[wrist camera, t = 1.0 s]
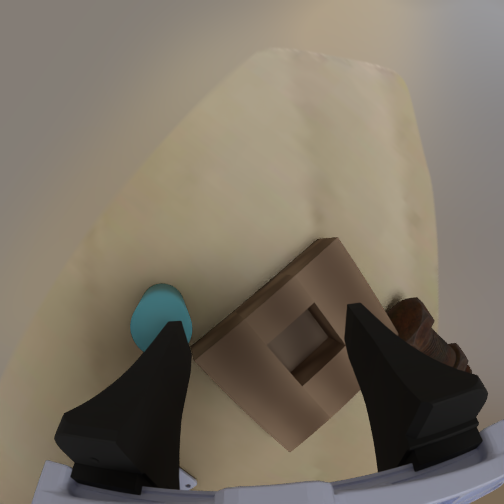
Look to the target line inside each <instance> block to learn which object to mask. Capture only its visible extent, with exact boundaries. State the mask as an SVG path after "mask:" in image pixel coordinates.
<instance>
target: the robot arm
mask: <svg viewBox="0 0 504 504" xmlns="http://www.w3.org/2000/svg"><path fill="white" fill-rule="evenodd" d="M344 341H345V345H346V349H347V353H348V357H349V360H350V363H351V366H352V368H353V371H354V374H355V376H356V379H357V381H358V384H359V387H360V389H361V392H362V395H363V397H364V401H365V404H366V408H367V412H368V416H369V421H370V426H371V431H372V436H373V441H374V447H375V453H376V460H377V468H378V473H374V474H370V475H365V476H361V477H356V478H351V479H346V480H341V481H335V482H329V483H328V482H324V481H304V482H295V483H286V484H275V485H261V486H238V487H229V488H224V489H222V490H219V491H191V490H190V489H191V488H193V487H195V486H196V485H197V480H196V479H195V478H193V477H192V476H190V475H189V474H188V473H186V472H185V471H184V470H182V469H181V468H180V467H179V451H180V431H181V419H182V413H183V408H184V403H185V398H186V393H187V388H188V383H189V378H190V371H191V356H192V353H191V350H190V347H189V344H188V341H187V337H186V334H185V331H184V327H183V324H182V321H168V322H167V324H166V325H165V326H164V327H163V329H162V330H161V331H160V333H159V334H158V335H157V336H156V338H155V339H154V340H153V342H152V343H151V344H150V345H149V347H148V348H147V349H146V350H145V352H144V353H143V354H142V355H141V356H140V357H139V358H138V360H137V361H136V362H135V363H134V364H133V365H132V366H131V367H130V368H129V369H128V370H127V371H126V372H125V373H124V374H123V375H122V376H121V377H120V378H119V379H117V380H116V381H115V382H114V383H113V384H111V385H110V386H109V387H107V388H106V389H105V390H104V391H102V392H101V393H99V394H98V395H96V396H95V397H93V398H92V399H90V400H89V401H87V402H85V403H84V404H82V405H80V406H78V407H76V408H74V409H72V410H70V411H68V412H66V413H64V415H63V417H62V419H61V422H60V424H59V427H58V429H57V432H56V434H55V438H54V439H55V441H56V443H57V445H58V446H59V447H60V449H61V450H62V451H63V452H64V453H65V454H66V455H67V456H68V457H69V458H70V459H72V460H73V461H74V462H75V463H74V466H73V468H71V467H69V466H67V465H64V464H61V463H57V462H53V461H50V460H46V462H45V464H44V467H43V470H42V473H41V476H40V479H39V482H38V485H37V488H36V491H35V494H34V497H33V500H32V504H469V503H471V502H473V501H475V500H477V499H478V498H480V497H482V496H484V495H486V494H488V493H490V492H492V491H493V490H495V489H497V488H499V487H500V486H501V485H502V484H503V483H504V419H503V420H501V421H499V422H497V423H494V424H492V425H491V426H488V427H486V428H484V429H483V430H482V431H480V432H479V431H478V429H477V426H478V425H479V422H478V420H477V418H476V416H477V415H478V413H479V412H480V410H481V409H482V407H483V405H484V404H485V402H486V400H487V396H488V392H487V390H486V388H485V387H484V385H483V383H482V382H481V380H480V378H479V377H478V376H477V375H475V374H471V373H468V372H465V371H462V370H458V369H456V368H453V367H451V366H448V365H446V364H444V363H441V362H439V361H437V360H435V359H433V358H431V357H429V356H427V355H426V354H424V353H422V352H420V351H419V350H417V349H416V348H414V347H413V346H411V345H410V344H408V343H407V342H405V341H404V340H403V339H401V338H400V337H399V336H397V335H396V334H395V333H394V332H392V331H391V330H390V329H389V328H388V327H387V326H385V325H384V324H383V323H382V322H381V321H380V320H379V319H378V318H377V317H375V316H374V315H373V314H372V313H371V312H370V311H369V310H368V309H367V308H366V307H365V306H364V305H363V304H362V303H353V304H347V312H346V324H345V335H344ZM187 484H189V485H187Z"/></svg>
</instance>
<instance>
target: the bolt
mask: <svg viewBox="0 0 504 504" xmlns="http://www.w3.org/2000/svg"><path fill="white" fill-rule="evenodd" d="M387 315H388V317H389V318H390V320H391V322H392V324H393V325H394V327H395V329H396V330H397V332H398V336H399V337H400V338H401V339H403V340H404V341H405V342H407V343H408V344H410V345H411V346H413V347H414V348H416V349H417V350H419V351H420V352H422V353H424V354H426V355H427V356H429V357H431V358H433V359H435V360H437V361H439V362H441V363H444V364H446V365H448V366H451V367H453V368H456V369H458V370H462V371H465V372H468V373H471V374H472V370H471V369H470V367H469V366H468V365H467V364H468V360H467V358H466V356H465V354H464V353H463V351H462V350H461V348H460V347H459V346H458V345H457V344H456V343H451V344H447V343H446V342H445V341H444V340H443V339H442V338H441V337H440V336H439V335H438V334H437V333H436V332H435V331H434V330H433V329H432V328H431V327H432V325H433V323H434V319H433V318H432V316H431V314H430V313H429V311H428V310H427V308H426V307H425V305H424V304H423V303H422V302H421V301H420V300H419V299H418V298H417V297H416V298H409V299H405V300H402V301H400V302H398V303H397V304H396V305H395V306H394V307H392V308H391V309H390V310H389V311H388V312H387Z"/></svg>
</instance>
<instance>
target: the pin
mask: <svg viewBox="0 0 504 504" xmlns="http://www.w3.org/2000/svg"><path fill="white" fill-rule="evenodd" d="M168 321H182V324H183V327H184V331H185V334H186V337H187V341H188V343H189V341H190V339H191V335H192V322H191V319H190V316H189V313H188V311H187V308H186V305H185V303H184V300H183V297H182V295H181V293H180V292H179V291H178V290H177V289H176V288H175V287H173V286H171V285H169V284H156V285H153V286H151V287H150V288H149V289H148V290H147V291H146V292H145V293H144V295H143V297H142V299H141V300H140V302H139V304H138V306H137V308H136V310H135V311H134V313H133V316H132V319H131V324H130V329H131V334H132V338H133V340H134V342H135V343H136V345H137V346H138V347H139V348H140V349H141V350H142V351H143V352H145V350H146V349H147V348H148V347H149V345H150V344H151V343H152V342H153V340H154V339H155V338H156V336H157V335H158V334H159V333H160V331H161V330H162V329H163V327H164V326H165V325H166V324H167V322H168Z"/></svg>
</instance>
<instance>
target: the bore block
mask: <svg viewBox="0 0 504 504" xmlns="http://www.w3.org/2000/svg"><path fill="white" fill-rule="evenodd" d="M353 303H362V304H363V305H364V306H365V307H366V308H367V309H368V310H369V311H370V312H371V313H372V314H373V315H374V316H375V317H377V318H378V319H379V320H380V321H381V322H382V323H383V324H384V325H385V326H387V327H388V328H389V329H390V330H391V331H392V332H394V333H395V334H396V335H397V336H398V332H397V330H396V329H395V327H394V325H393V324H392V322H391V320H390V318H389V317H388V315H387V313H386V312H385V310H384V309H383V307H382V305H381V304H380V302H379V300H378V299H377V297H376V295H375V294H374V292H373V291H372V289H371V287H370V286H369V284H368V283H367V281H366V280H365V278H364V276H363V275H362V273H361V272H360V270H359V269H358V267H357V265H356V264H355V262H354V261H353V259H352V258H351V256H350V255H349V253H348V252H347V250H346V249H345V247H344V246H343V244H342V243H341V241H340V240H339V238H338V237H334V238H323V239H317V240H316V241H315V242H314V243H313V244H311V245H310V246H309V247H308V248H307V249H306V250H305V251H303V252H302V253H301V254H300V255H299V256H298V257H297V258H295V259H294V260H293V261H292V262H291V263H290V264H289V265H287V266H286V267H285V268H284V269H283V270H282V271H280V272H279V273H278V274H277V275H276V276H275V277H273V278H272V279H271V280H270V281H269V282H268V283H266V284H265V285H264V286H263V287H262V288H261V289H259V290H258V291H257V292H256V293H255V294H254V295H252V296H251V297H250V298H249V299H248V300H246V301H245V302H244V303H243V304H242V305H241V306H239V307H238V308H237V309H236V310H235V311H233V312H232V313H231V314H230V315H229V316H227V317H226V318H225V319H224V320H223V321H221V322H220V323H219V324H218V325H217V326H215V327H214V328H213V329H212V330H211V331H209V332H208V333H207V334H206V335H204V336H203V337H202V338H201V339H200V340H198V341H197V342H196V343H195V344H193V345H192V346H191V350H192V354H193V357H194V361H195V362H196V363H197V364H198V365H199V366H200V367H201V368H202V369H203V370H204V371H205V372H206V373H207V374H208V375H209V376H210V377H211V378H212V380H213V381H214V382H215V383H216V384H217V385H218V386H219V387H220V388H221V389H222V390H223V391H224V392H225V393H226V394H227V395H228V396H229V397H230V398H231V399H232V400H233V401H234V402H235V403H236V404H237V405H238V406H240V407H241V408H242V409H243V410H244V411H245V412H246V413H247V414H248V415H249V416H250V417H251V418H252V419H253V420H254V421H255V422H256V423H257V424H259V425H260V426H261V427H262V428H263V429H264V430H265V431H266V432H267V433H268V434H270V435H271V436H272V437H273V438H274V439H275V440H276V441H277V442H279V443H280V444H281V445H282V446H283V447H284V448H285V449H287V450H288V451H289V452H291V451H292V450H294V449H295V448H296V447H297V446H299V445H300V444H301V443H302V442H303V441H305V440H306V439H307V438H308V437H309V436H311V435H312V434H313V433H314V432H315V431H316V430H318V429H319V428H320V427H321V426H322V425H323V424H324V423H326V422H327V421H328V420H329V419H330V418H331V417H332V416H333V415H334V414H335V413H337V412H338V411H339V410H340V409H341V408H342V407H343V406H344V405H345V404H346V403H347V402H348V401H349V400H350V399H351V398H352V397H353V396H354V395H355V394H356V393H357V392H358V391H360V390H361V389H360V387H359V384H358V381H357V379H356V376H355V374H354V371H353V368H352V366H351V363H350V360H349V357H348V353H347V349H346V345H345V341H344V335H345V324H346V312H347V304H353Z"/></svg>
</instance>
